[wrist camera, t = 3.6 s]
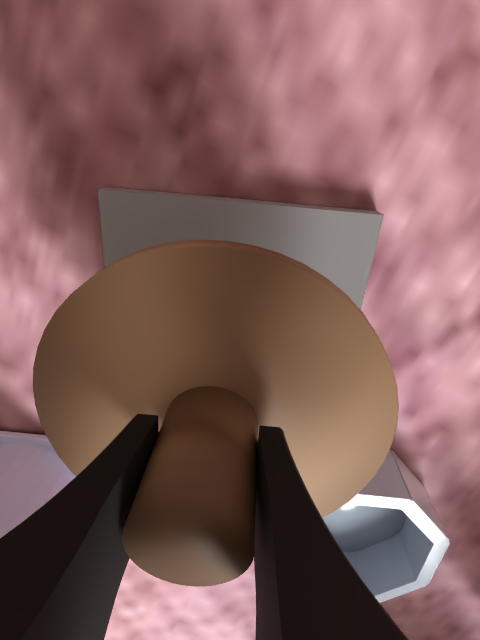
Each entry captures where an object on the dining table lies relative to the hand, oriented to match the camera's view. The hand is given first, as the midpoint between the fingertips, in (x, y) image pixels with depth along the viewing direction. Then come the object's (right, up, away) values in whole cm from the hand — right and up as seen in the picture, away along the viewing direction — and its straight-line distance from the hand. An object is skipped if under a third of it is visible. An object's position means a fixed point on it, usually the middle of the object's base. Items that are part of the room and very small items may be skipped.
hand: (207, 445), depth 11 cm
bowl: (+8, -8, +13) cm, 17 cm away
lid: (0, +1, +1) cm, 2 cm away
